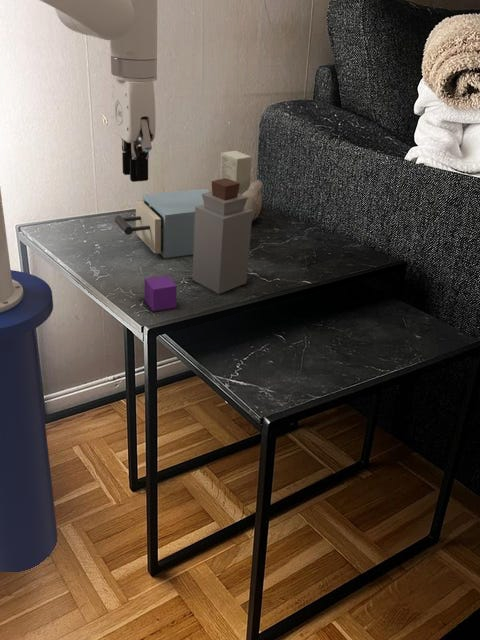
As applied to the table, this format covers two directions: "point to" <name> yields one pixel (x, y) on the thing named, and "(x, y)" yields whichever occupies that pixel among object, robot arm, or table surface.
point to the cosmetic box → (236, 168)
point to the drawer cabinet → (177, 219)
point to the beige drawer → (145, 226)
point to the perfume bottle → (222, 237)
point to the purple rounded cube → (160, 293)
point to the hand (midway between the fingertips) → (135, 176)
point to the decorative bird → (254, 198)
